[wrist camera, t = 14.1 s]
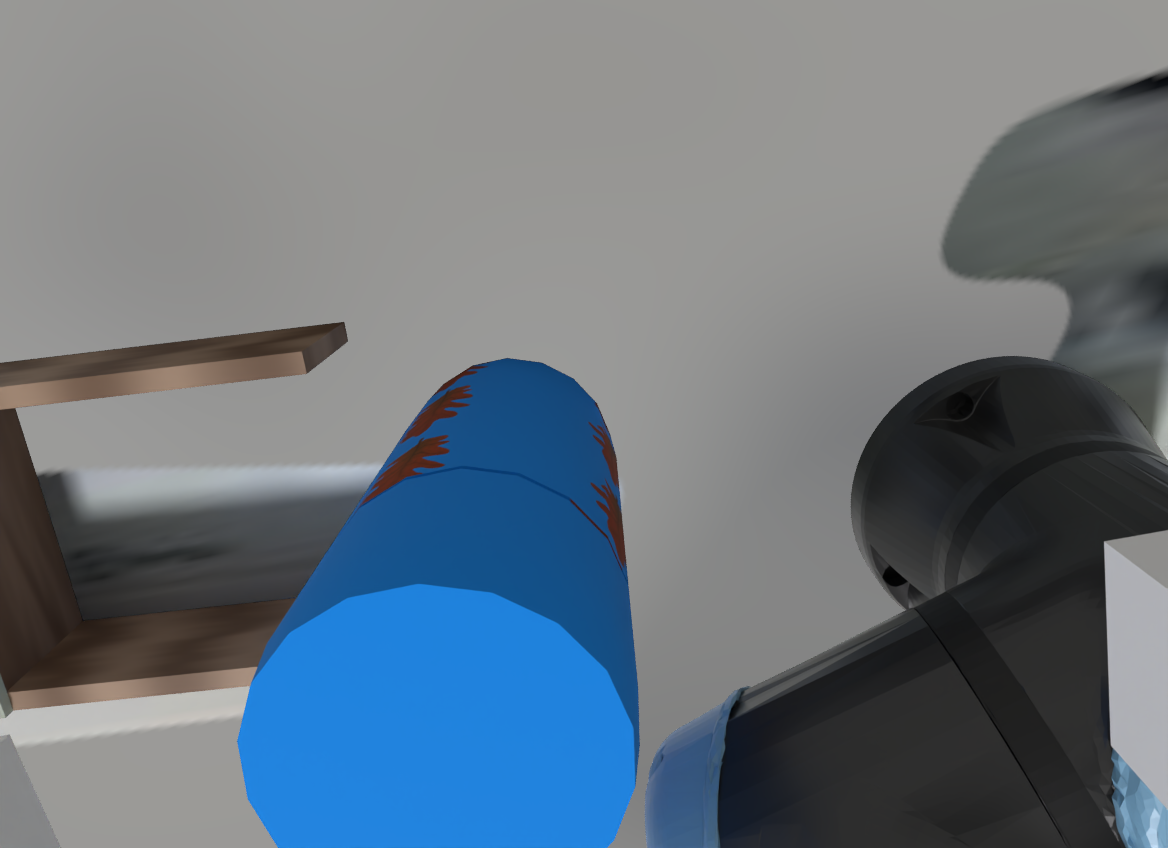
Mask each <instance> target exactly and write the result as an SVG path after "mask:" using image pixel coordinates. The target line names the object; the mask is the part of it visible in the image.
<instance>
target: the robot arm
mask: <svg viewBox="0 0 1168 848" xmlns="http://www.w3.org/2000/svg"><path fill="white" fill-rule="evenodd" d="M851 518H852V525H853V531H854V535H855V538H856V542H857V544H858V547H859V550H860V552H861V554H862V556H863V558H864V560H865V562H866V563H867V565H868V567H869V568H870V570H871V571H872V573H873V574H874V575H875V577H876V578H877V580H878V581H879V583H880V584H881V586H882V587H883V588H884V590H885V591H886V592H887V593H888V594H889V596H890V597H891V598H892V599H893V600H894V601H895V602H896V603H897V604H898V605H899V606H901V607H902V608H903V609H904V610H905V611H904V612H902V613H900V614H898V615H896V616H894V617H892V618H890V619H888V620H886V621H884V622H882V623H880V624H878V625H876V626H874V627H872V628H870V629H868V630H866V631H864V632H862V633H860V634H858V635H856V636H855V637H853V638H850V639H849V640H846V641H845V642H843V643H841V644H839V645H837V646H835V647H833V648H831V649H829V650H827V651H825V652H823V653H821V654H819V655H817V656H815V657H813V658H811V659H809V660H807V661H805V662H803V663H801V664H799V665H797V666H795V667H793V668H791V669H789V670H786V671H784V672H782V673H780V674H778V675H776V676H774V677H772V678H770V679H768V680H766V681H764V682H761V683H759V684H757V685H755V686H753V687H750V686H747V687H743V688H740V689H739V690H736V691H734V692H733V693H732V694H731V695H730V696H729V697H728V698H727V700H726V701H725V702H724V703H722V704H720V705H718V706H717V707H715V708H713V709H712V710H710V711H708V712H707V713H705V714H703V715H701V716H700V717H698V718H696V719H694V720H693V721H691V722H689V723H688V724H686V725H684V726H682V727H680V728H678V729H677V730H675V731H674V732H673V733H671V734H670V735H669V736H668V737H667V738H666V739H665V741H664V742H663V743H662V744H661V746H660V747H659V749H658V751H657V752H656V754H655V757H654V760H653V763H652V766H651V768H650V772H649V782H648V784H647V789H646V794H645V829H646V842H647V848H1168V460H1167V459H1166V457H1165V456H1164V454H1163V453H1162V451H1161V450H1160V448H1159V447H1158V445H1157V444H1156V442H1155V441H1154V440H1153V438H1152V437H1151V435H1150V434H1149V432H1148V431H1147V429H1146V427H1145V425H1144V424H1143V422H1142V421H1141V419H1140V418H1139V417H1138V415H1137V414H1136V413H1135V412H1134V410H1133V409H1132V408H1131V407H1130V406H1129V405H1128V404H1127V403H1126V402H1125V401H1124V400H1123V399H1122V398H1120V397H1119V396H1118V395H1117V394H1116V393H1114V392H1113V391H1112V390H1111V389H1109V388H1108V387H1106V386H1105V385H1103V384H1101V383H1100V382H1098V381H1096V380H1094V379H1092V378H1090V377H1088V376H1086V375H1084V374H1082V373H1079V372H1077V371H1075V370H1073V369H1070V368H1068V367H1066V366H1063V365H1061V364H1058V363H1055V362H1051V361H1048V360H1044V359H1038V358H1031V357H1019V356H1006V357H1005V356H1003V357H993V358H987V359H981V360H976V361H973V362H968V363H965V364H962V365H959V366H957V367H954V368H951V369H949V370H946V371H945V372H943V373H941V374H938V375H936V376H934V377H933V378H931V379H929V380H927V381H926V382H924V383H923V384H921V385H919V386H918V387H917V388H915V389H914V390H913V391H911V392H910V393H909V394H907V395H906V396H905V397H904V398H903V399H902V400H901V401H899V402H898V403H897V405H895V406H894V407H893V408H892V409H891V410H890V411H889V413H888V414H887V415H886V416H885V417H884V418H883V420H882V421H881V423H880V424H879V425H878V426H877V428H876V429H875V431H874V432H873V434H872V436H871V437H870V439H869V441H868V442H867V444H866V446H865V448H864V450H863V453H862V455H861V457H860V460H859V463H858V465H857V469H856V472H855V476H854V481H853V486H852V493H851ZM0 848H61V847H60V845H59V842H58V840H57V838H56V836H55V834H54V832H53V829H52V828H51V825H50V823H49V821H48V818H47V816H46V814H45V812H44V810H43V807H42V805H41V803H40V801H39V799H38V797H37V794H36V792H35V790H34V788H33V785H32V783H31V781H30V779H29V777H28V774H27V772H26V770H25V768H24V766H23V764H22V761H21V759H20V757H19V755H18V752H17V750H16V748H15V746H14V744H13V741H12V739H11V737H10V735H4V736H0Z"/></svg>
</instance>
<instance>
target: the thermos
mask: <svg viewBox="0 0 1168 848" xmlns="http://www.w3.org/2000/svg"><path fill="white" fill-rule="evenodd" d="M616 461H617V460H616V455H615V451H614V447H613V444H612V440H611V436H610V433H609V431H608V428H607V426H606V424H605V422H604V419H603V417H602V414H601V412H600V410H599V407H598V405H597V403H596V402H595V401H594V400H593V399H592V398H591V397H590V396H589V395H588V394H587V393H586V392H585V390H584V389H583V388H582V387H581V386H580V385H579V384H578V383H577V382H576V381H575V380H574V379H573V378H571V377H569V376H567V375H565V374H563V373H561V372H559V371H557V370H555V369H553V368H551V367H549V366H547V365H546V364H543V363H540V362H532V361H525V360H517V359H509V358H506V359H501V360H496V361H492V362H487V363H482V364H478V365H473V366H471V367H470V368H468V369H467V370H465V371H463V372H462V373H460V374H459V375H457V376H456V377H454V378H452V379H451V380H449V381H448V382H446V383H445V384H443V385H442V386H441V388H440V389H439V390H438V391H437V392H436V393H435V394H434V395H433V396H432V397H431V398H430V400H429V401H428V402H427V403H426V404H425V406H424V407H423V408H422V410H421V411H420V413H419V414H418V415H417V417H416V418H415V419H414V421H413V422H412V423H411V425H410V426H409V427H408V429H407V430H406V431H405V433H404V434H403V436H402V437H401V439H400V441H399V442H398V444H397V445H396V447H395V448H394V450H393V451H392V453H391V454H390V456H389V457H388V459H387V460H386V462H385V463H384V465H383V467H382V468H381V470H380V471H379V473H378V474H377V476H376V477H375V479H374V480H373V482H372V483H371V485H370V486H369V488H368V489H367V491H366V493H365V494H364V496H363V497H362V499H361V500H360V502H359V503H358V505H357V506H356V508H355V509H354V511H353V512H352V514H351V516H350V517H349V519H348V520H347V522H346V523H345V525H344V526H343V528H342V529H341V531H340V532H339V534H338V535H337V537H336V538H335V540H334V542H333V543H332V545H331V546H330V548H329V549H328V551H327V552H326V554H325V555H324V557H323V558H322V560H321V561H320V563H319V564H318V566H317V568H316V569H315V571H314V572H313V574H312V575H311V577H310V578H309V580H308V581H307V583H306V584H305V586H304V587H303V589H302V591H301V592H300V594H299V595H298V597H297V598H296V600H295V601H294V603H293V604H292V606H291V607H290V609H289V610H288V612H287V613H286V615H285V617H284V618H283V620H282V621H281V623H280V624H279V626H278V627H277V629H276V630H275V632H274V633H273V635H272V636H271V638H270V639H269V641H268V643H267V644H266V647H265V650H264V652H263V655H262V657H261V660H260V662H259V665H258V667H257V670H256V672H255V675H254V677H253V680H252V682H251V686H250V690H249V694H248V698H247V702H246V707H245V711H244V715H243V719H242V724H241V728H240V732H239V736H238V741H237V742H238V748H239V753H240V759H241V764H242V769H243V775H244V781H245V785H246V791H247V797H248V800H249V802H250V803H251V805H252V807H253V808H254V810H255V811H256V813H257V815H258V816H259V818H260V819H261V821H262V823H263V824H264V826H265V827H266V829H267V831H268V832H269V834H270V835H271V837H272V839H273V840H274V842H275V843H276V845H277V847H278V848H607V847H608V846H609V845H610V844H611V843H612V842H613V841H614V839H615V836H616V834H617V831H618V829H619V826H620V824H621V821H622V819H623V816H624V814H625V811H626V809H627V806H628V804H629V801H630V798H631V796H632V794H633V791H634V789H635V784H636V775H637V765H638V756H639V755H638V754H639V746H640V742H639V706H638V682H637V672H636V661H635V651H634V640H633V630H632V619H631V609H630V599H629V588H628V577H627V566H626V556H625V545H624V535H623V524H622V513H621V502H620V492H619V481H618V471H617V462H616Z"/></svg>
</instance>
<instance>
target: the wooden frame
mask: <svg viewBox="0 0 1168 848" xmlns="http://www.w3.org/2000/svg"><path fill="white" fill-rule="evenodd" d="M346 342H348V339H347V334H346V329H345V324H344V322H341V323H332V324H323V325H315V326H307V327H298V328H290V329H281V330H273V331H265V332H256V333H248V334H241V335H240V334H239V335H231V336H224V337H214V338H207V339H198V340H189V341H181V342H172V343H164V344H155V345H147V346H139V347H130V348H122V349H113V350H105V351H98V352H88V353H80V354H72V355H64V356H55V357H46V358H38V359H30V360H22V361H14V362H4V363H0V718H6V717H7V716H8V715H9V714H10V713H11V712H12V711H13V710H22V709H31V708H41V707H51V706H60V705H70V704H80V703H89V702H99V701H109V700H118V699H128V698H137V697H147V696H157V695H166V694H176V693H186V692H195V691H205V690H215V689H224V688H234V687H244V686H251V682H252V680H253V677H254V675H255V672H256V670H257V667H258V665H259V662H260V660H261V657H262V655H263V652H264V650H265V647H266V644H267V643H268V641H269V639H270V638H271V636H272V635H273V633H274V632H275V630H276V629H277V627H278V626H279V624H280V623H281V621H282V620H283V618H284V617H285V615H286V613H287V612H288V610H289V609H290V607H291V606H292V604H293V603H294V601H295V600H296V598H292V599H283V600H273V601H264V602H255V603H245V604H236V605H227V606H217V607H208V608H199V609H189V610H180V611H171V612H161V613H152V614H143V615H133V616H124V617H115V618H105V619H96V620H87V621H83V620H82V617H81V614H80V611H79V607H78V604H77V601H76V598H75V595H74V592H73V589H72V585H71V582H70V579H69V576H68V573H67V570H66V567H65V563H64V560H63V557H62V554H61V551H60V548H59V545H58V541H57V538H56V535H55V532H54V529H53V526H52V523H51V519H50V516H49V513H48V510H47V507H46V504H45V500H44V497H43V494H42V491H41V488H40V485H39V482H38V478H37V475H36V472H35V469H34V466H33V463H32V460H31V456H30V454H29V450H28V447H27V444H26V441H25V438H24V434H23V431H22V428H21V425H20V422H19V419H18V416H17V412H16V410H15V408H18V407H27V406H36V405H44V404H53V403H62V402H70V401H79V400H87V399H95V398H104V397H113V396H122V395H130V394H139V393H147V392H156V391H164V390H173V389H182V388H190V387H199V386H207V385H216V384H223V383H233V382H241V381H250V380H258V379H267V378H276V377H284V376H292V375H301V374H307V373H308V372H310V371H311V370H312V369H313V368H315V367H316V366H317V365H318V364H320V363H321V362H322V361H324V360H325V359H326V358H327V357H329V356H330V355H331V354H333V353H334V352H335V351H336V350H338V349H339V348H340V347H341V346H343V345H344V344H345V343H346Z"/></svg>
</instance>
